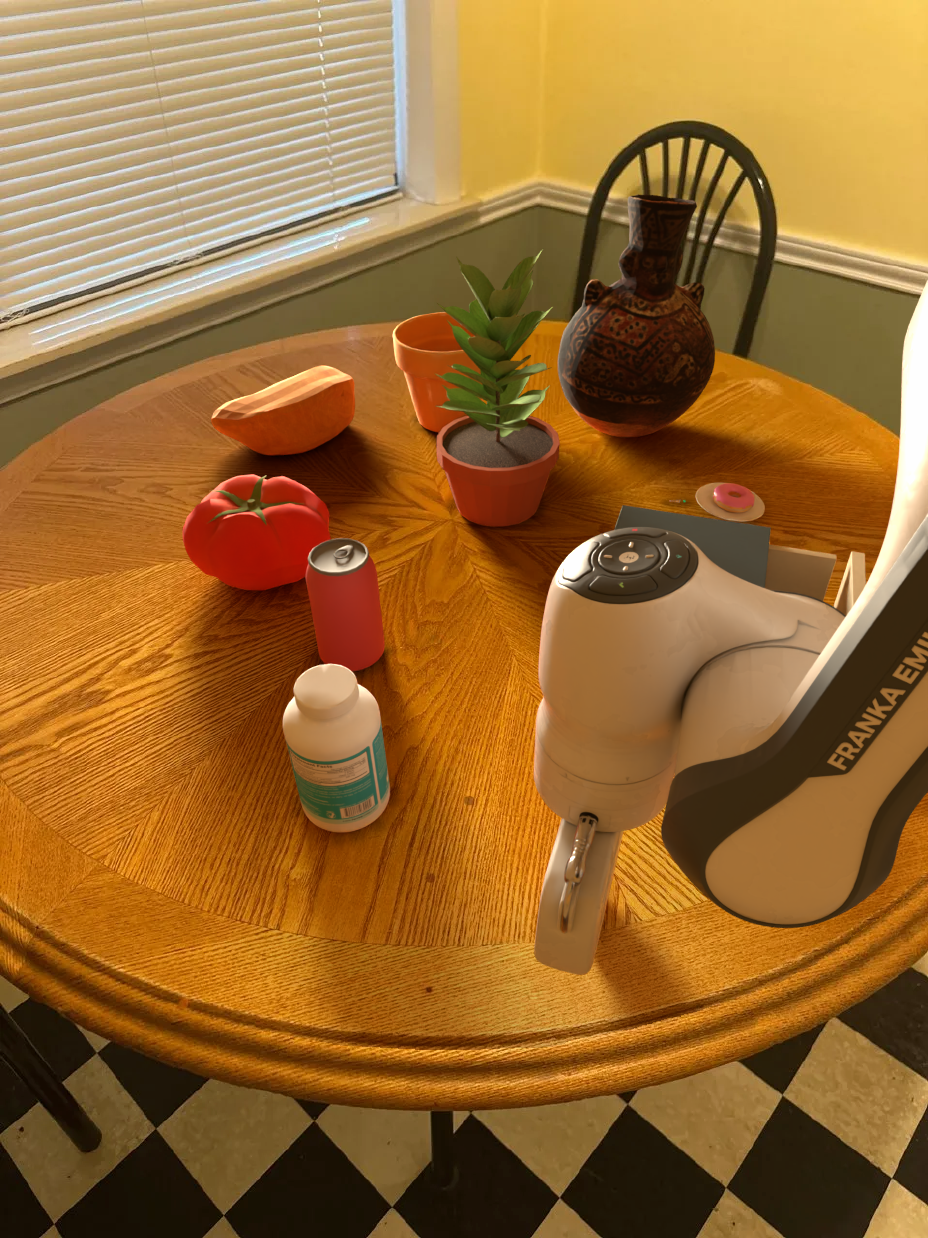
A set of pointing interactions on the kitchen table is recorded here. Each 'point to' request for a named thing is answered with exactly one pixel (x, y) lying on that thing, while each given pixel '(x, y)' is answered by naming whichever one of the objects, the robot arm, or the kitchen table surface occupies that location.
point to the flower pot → (430, 365)
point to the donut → (730, 502)
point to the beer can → (345, 604)
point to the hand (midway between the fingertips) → (588, 883)
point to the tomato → (256, 531)
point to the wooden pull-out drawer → (814, 574)
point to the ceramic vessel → (640, 331)
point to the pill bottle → (336, 749)
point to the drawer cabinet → (711, 539)
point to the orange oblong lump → (291, 413)
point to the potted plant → (496, 407)
